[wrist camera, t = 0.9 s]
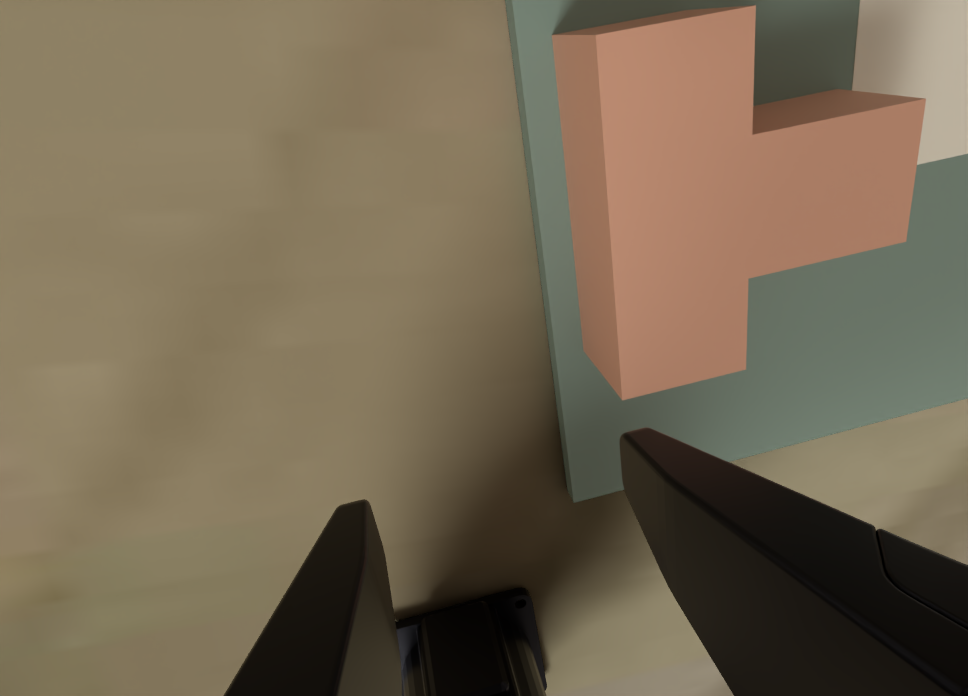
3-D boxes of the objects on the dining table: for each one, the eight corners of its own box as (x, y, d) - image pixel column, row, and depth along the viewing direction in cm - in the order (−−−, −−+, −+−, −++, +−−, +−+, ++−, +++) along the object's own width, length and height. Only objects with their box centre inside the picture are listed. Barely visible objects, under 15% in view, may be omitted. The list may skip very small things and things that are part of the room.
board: (1088, 353, 29) (1108, 361, 28) (567, 490, 26) (574, 503, 26) (1300, -362, 19) (1339, -379, 18) (473, -252, 16) (479, -265, 15)
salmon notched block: (820, 293, 24) (893, 332, 21) (583, 350, 23) (622, 400, 20) (846, -20, 19) (944, -31, 16) (551, 35, 18) (595, 35, 15)
